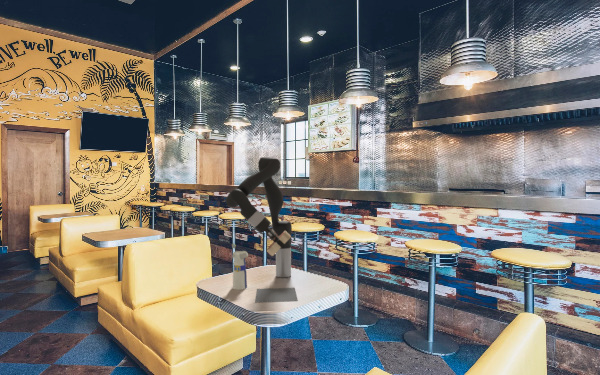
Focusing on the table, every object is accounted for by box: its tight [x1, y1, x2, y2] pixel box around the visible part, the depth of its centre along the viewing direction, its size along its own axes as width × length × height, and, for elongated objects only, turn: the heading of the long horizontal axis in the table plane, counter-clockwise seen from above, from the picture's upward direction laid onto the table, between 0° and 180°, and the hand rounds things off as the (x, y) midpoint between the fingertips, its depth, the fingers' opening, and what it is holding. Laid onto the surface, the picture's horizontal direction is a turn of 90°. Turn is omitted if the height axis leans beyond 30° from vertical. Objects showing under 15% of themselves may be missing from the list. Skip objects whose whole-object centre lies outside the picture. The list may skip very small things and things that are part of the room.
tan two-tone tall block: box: [266, 231, 292, 257], centre depth 164 cm, size 6×4×13 cm
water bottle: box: [231, 242, 249, 291], centre depth 177 cm, size 8×9×25 cm
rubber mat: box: [254, 287, 299, 304], centre depth 165 cm, size 21×20×1 cm
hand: (283, 245), depth 164 cm, fingers closed on tan two-tone tall block, 6 cm apart
